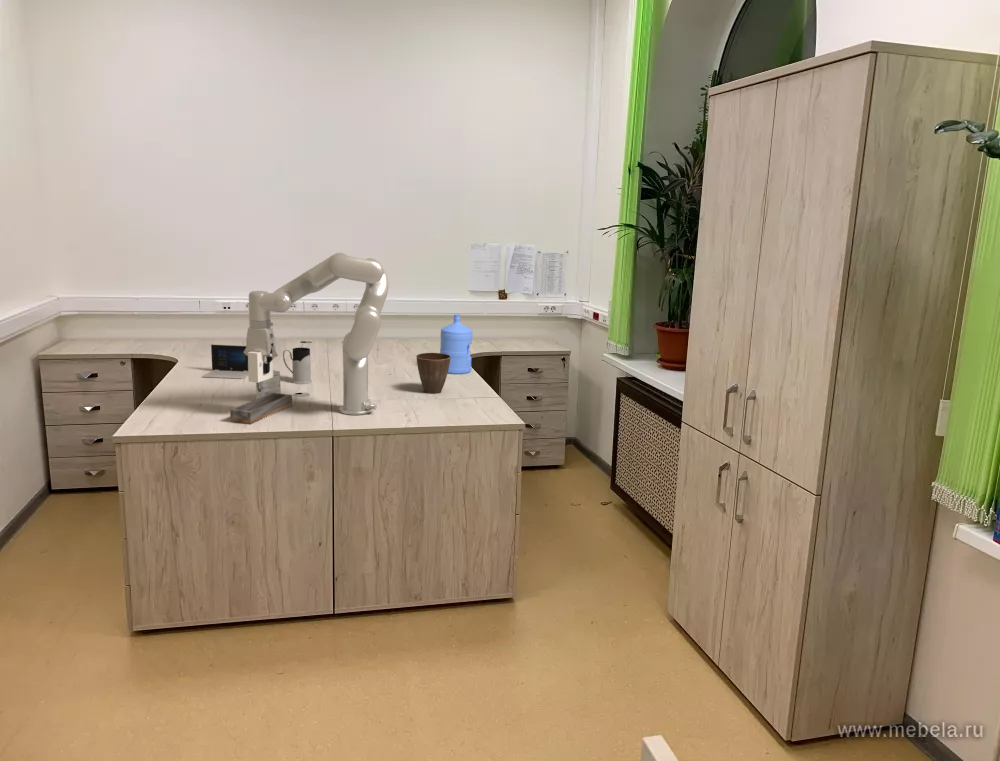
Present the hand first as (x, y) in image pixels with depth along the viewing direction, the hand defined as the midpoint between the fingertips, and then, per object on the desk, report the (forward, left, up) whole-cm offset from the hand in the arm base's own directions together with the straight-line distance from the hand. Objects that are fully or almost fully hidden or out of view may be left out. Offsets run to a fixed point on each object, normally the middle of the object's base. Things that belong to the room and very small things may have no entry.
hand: (260, 372), depth 287 cm
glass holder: (+16, -51, -16) cm, 56 cm away
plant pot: (-46, -60, -16) cm, 78 cm away
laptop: (+49, -47, -17) cm, 70 cm away
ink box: (+9, -18, -16) cm, 26 cm away
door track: (0, 0, -16) cm, 16 cm away
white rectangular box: (0, 0, -3) cm, 3 cm away
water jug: (-41, -104, -16) cm, 113 cm away
